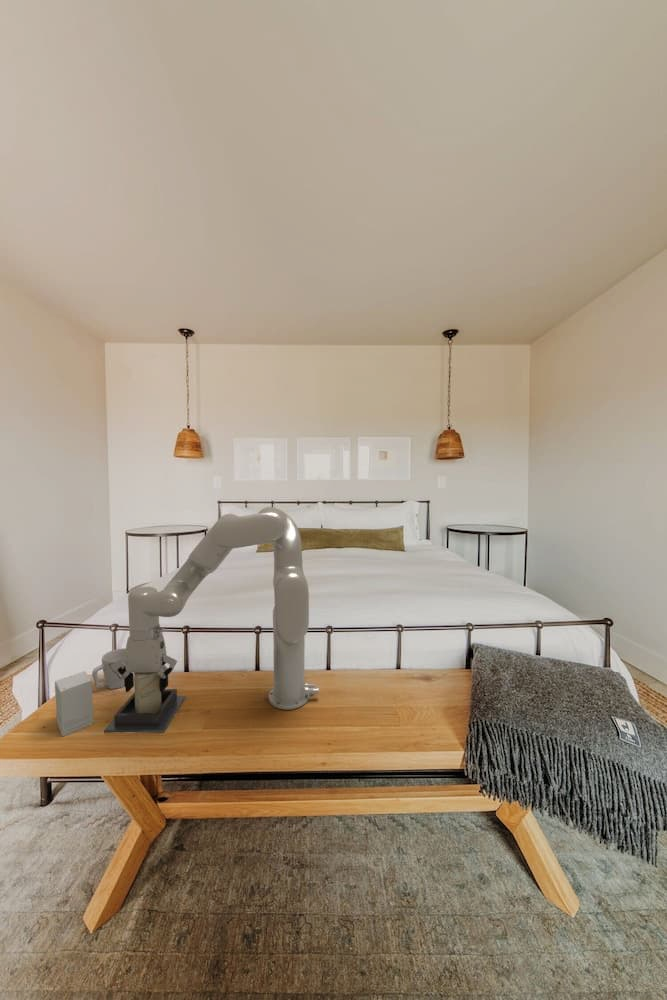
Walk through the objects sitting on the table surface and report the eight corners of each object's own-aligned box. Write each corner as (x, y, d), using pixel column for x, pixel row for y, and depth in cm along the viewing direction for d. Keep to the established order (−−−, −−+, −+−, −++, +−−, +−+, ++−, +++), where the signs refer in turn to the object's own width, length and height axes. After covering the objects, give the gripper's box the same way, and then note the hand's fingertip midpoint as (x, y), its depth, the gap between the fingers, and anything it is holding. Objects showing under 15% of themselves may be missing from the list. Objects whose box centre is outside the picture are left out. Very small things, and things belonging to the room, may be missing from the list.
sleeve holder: (185, 698, 114) (185, 686, 114) (163, 732, 99) (163, 719, 99) (133, 698, 114) (133, 686, 114) (104, 732, 99) (103, 719, 99)
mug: (99, 699, 113) (97, 668, 112) (88, 689, 118) (86, 659, 117) (137, 682, 122) (136, 653, 121) (125, 673, 127) (124, 645, 127)
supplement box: (94, 724, 102) (92, 680, 101) (61, 737, 97) (59, 692, 96) (87, 711, 108) (85, 670, 107) (56, 723, 102) (53, 680, 101)
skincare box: (138, 720, 103) (137, 678, 102) (134, 712, 106) (133, 672, 105) (162, 710, 107) (161, 670, 106) (157, 703, 110) (156, 664, 109)
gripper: (180, 626, 108) (182, 681, 110) (121, 626, 108) (123, 681, 110) (169, 637, 101) (171, 697, 102) (105, 637, 101) (108, 697, 102)
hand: (146, 689), depth 106 cm, fingers open, 9 cm apart
